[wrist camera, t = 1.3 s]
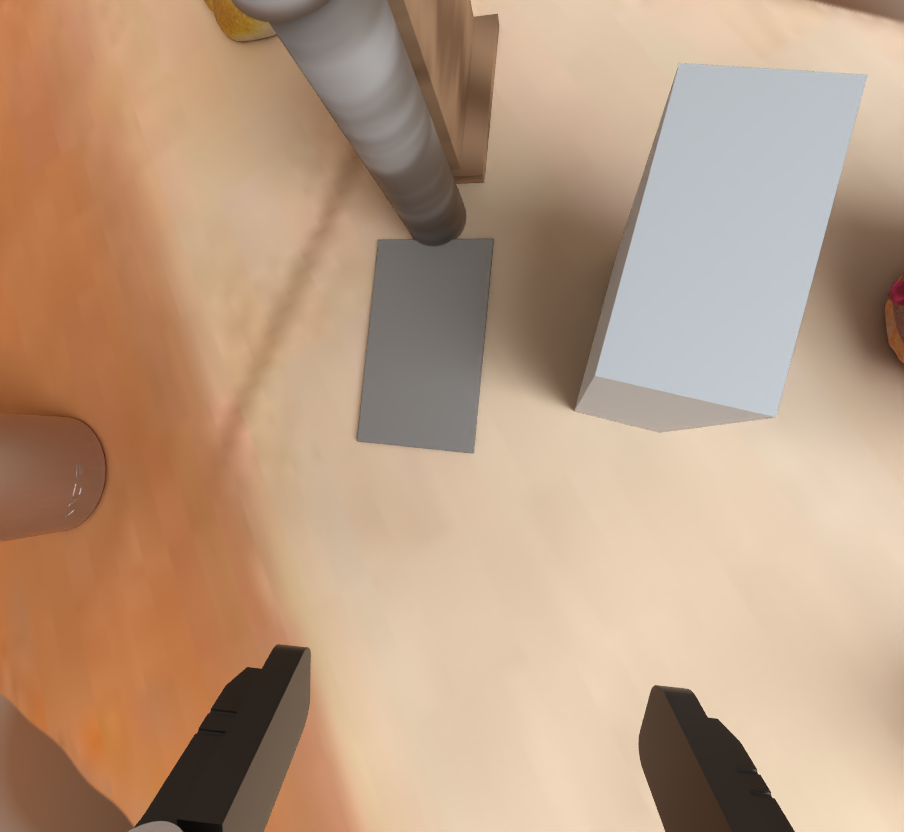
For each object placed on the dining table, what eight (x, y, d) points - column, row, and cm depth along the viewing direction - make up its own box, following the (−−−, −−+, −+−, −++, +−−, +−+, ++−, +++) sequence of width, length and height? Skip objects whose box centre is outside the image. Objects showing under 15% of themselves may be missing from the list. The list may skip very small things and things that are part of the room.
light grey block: (574, 411, 27) (594, 375, 14) (616, 254, 27) (679, 63, 14) (659, 432, 26) (776, 417, 12) (703, 269, 26) (867, 75, 12)
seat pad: (473, 453, 28) (472, 453, 28) (359, 441, 30) (357, 441, 30) (493, 240, 29) (493, 238, 29) (380, 241, 31) (378, 239, 31)
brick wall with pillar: (477, 257, 29) (364, -20, 12) (391, 257, 31) (180, 9, 13) (499, 25, 30) (423, -555, 13) (415, 35, 31) (243, -474, 14)
